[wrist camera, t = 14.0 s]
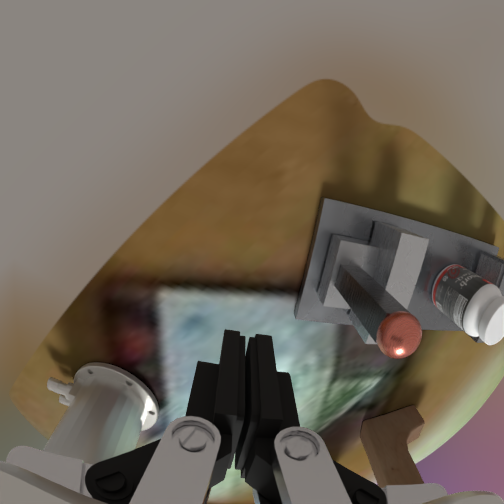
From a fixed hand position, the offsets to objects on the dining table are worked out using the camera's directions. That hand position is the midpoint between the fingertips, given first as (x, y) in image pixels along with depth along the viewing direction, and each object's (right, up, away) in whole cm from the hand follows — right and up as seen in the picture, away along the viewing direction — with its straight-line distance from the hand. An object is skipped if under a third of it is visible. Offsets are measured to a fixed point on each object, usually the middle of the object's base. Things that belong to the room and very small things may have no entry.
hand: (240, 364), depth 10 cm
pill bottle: (+23, 0, +18) cm, 29 cm away
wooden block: (+21, -22, +25) cm, 40 cm away
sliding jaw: (+11, +2, +16) cm, 20 cm away
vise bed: (+19, +1, +18) cm, 26 cm away
